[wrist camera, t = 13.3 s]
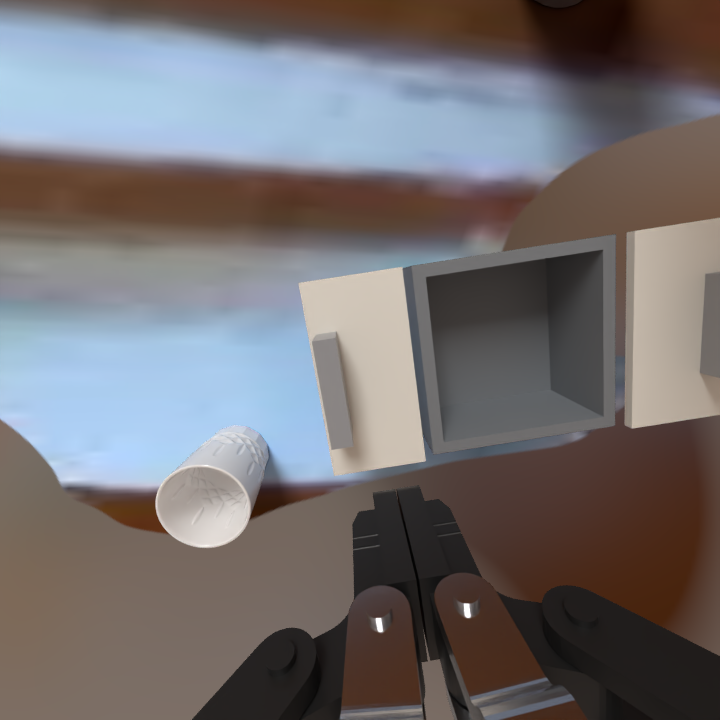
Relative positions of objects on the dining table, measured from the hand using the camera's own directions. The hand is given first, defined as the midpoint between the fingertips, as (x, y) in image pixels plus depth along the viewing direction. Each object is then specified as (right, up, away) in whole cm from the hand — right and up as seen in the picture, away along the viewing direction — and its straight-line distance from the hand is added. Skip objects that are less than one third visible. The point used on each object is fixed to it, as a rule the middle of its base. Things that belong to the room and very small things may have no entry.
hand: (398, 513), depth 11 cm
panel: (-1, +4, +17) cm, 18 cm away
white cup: (-15, -5, +28) cm, 32 cm away
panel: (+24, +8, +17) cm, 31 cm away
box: (+12, +8, +26) cm, 30 cm away
